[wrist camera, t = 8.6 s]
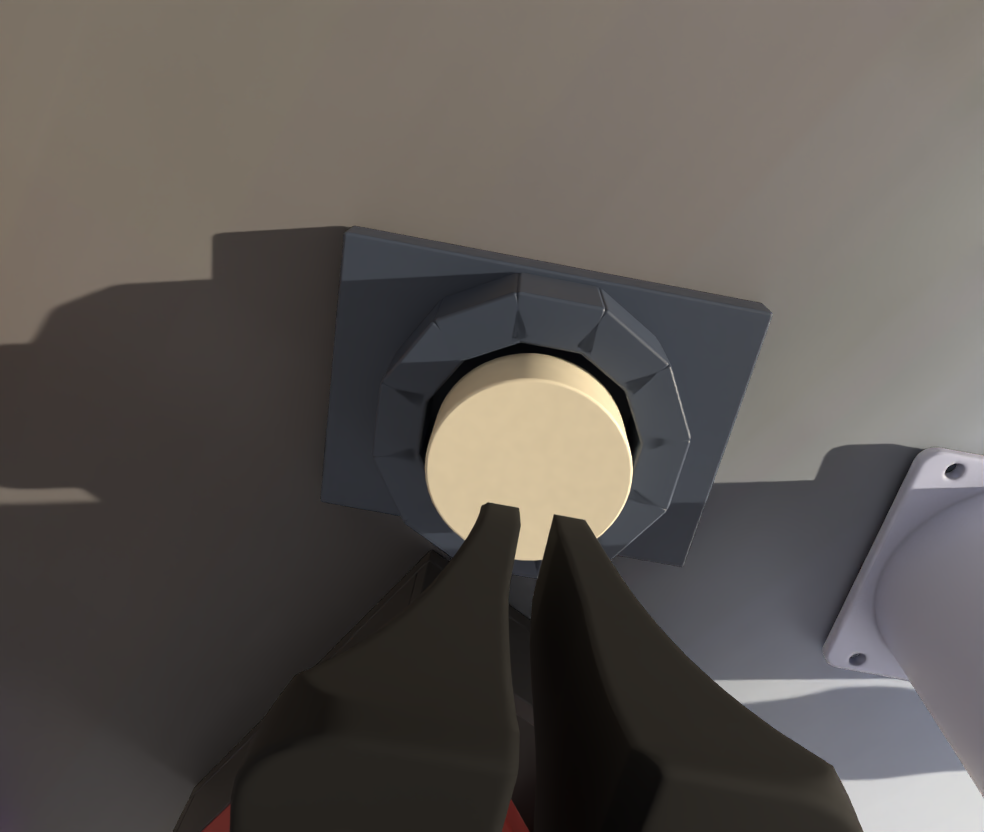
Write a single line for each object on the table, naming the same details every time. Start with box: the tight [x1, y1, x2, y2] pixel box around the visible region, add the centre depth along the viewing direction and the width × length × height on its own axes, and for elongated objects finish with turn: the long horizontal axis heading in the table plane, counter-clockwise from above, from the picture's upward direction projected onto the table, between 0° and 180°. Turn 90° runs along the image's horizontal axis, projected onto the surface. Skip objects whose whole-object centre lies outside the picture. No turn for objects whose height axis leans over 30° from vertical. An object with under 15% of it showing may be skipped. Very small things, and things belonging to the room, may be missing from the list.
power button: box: [425, 353, 633, 560], centre depth 17 cm, size 5×5×2 cm
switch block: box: [320, 226, 773, 579], centre depth 19 cm, size 11×8×3 cm
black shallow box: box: [173, 550, 536, 832], centre depth 25 cm, size 11×15×4 cm
